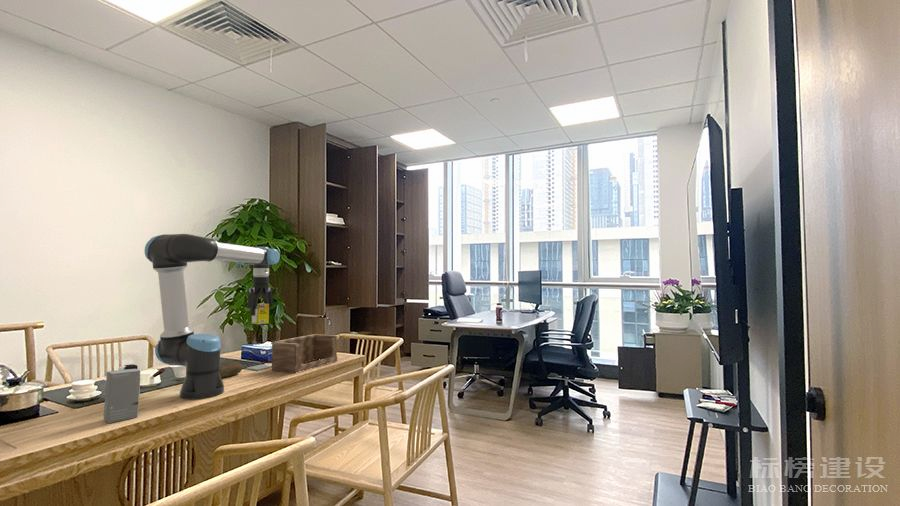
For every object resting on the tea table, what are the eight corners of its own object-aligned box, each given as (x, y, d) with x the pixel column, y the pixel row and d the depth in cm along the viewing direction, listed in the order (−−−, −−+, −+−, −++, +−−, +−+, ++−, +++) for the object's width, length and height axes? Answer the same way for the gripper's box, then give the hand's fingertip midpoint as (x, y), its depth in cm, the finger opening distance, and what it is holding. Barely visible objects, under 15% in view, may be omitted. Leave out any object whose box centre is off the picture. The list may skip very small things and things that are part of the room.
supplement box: (268, 324, 212) (269, 303, 212) (258, 326, 207) (258, 304, 207) (262, 324, 215) (262, 303, 216) (251, 325, 210) (251, 303, 210)
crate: (294, 373, 198) (295, 344, 199) (270, 370, 205) (271, 342, 206) (338, 361, 226) (338, 335, 227) (315, 358, 233) (315, 333, 234)
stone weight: (216, 381, 184) (217, 366, 184) (204, 380, 186) (205, 365, 186) (243, 374, 198) (243, 360, 198) (232, 373, 200) (232, 359, 201)
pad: (257, 370, 204) (257, 369, 204) (245, 369, 208) (245, 368, 208) (272, 367, 212) (272, 366, 212) (260, 365, 216) (260, 364, 216)
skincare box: (107, 424, 131) (109, 374, 132) (102, 419, 136) (104, 370, 137) (139, 417, 138) (141, 369, 139) (134, 412, 142) (135, 366, 143)
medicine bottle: (136, 392, 167) (138, 362, 168) (139, 395, 162) (140, 365, 163) (114, 395, 162) (115, 365, 163) (116, 399, 157) (117, 368, 158)
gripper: (250, 276, 202) (248, 323, 201) (281, 276, 219) (280, 319, 218) (239, 276, 205) (238, 322, 204) (271, 276, 222) (270, 319, 221)
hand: (260, 321), depth 211 cm, fingers closed on supplement box, 6 cm apart
